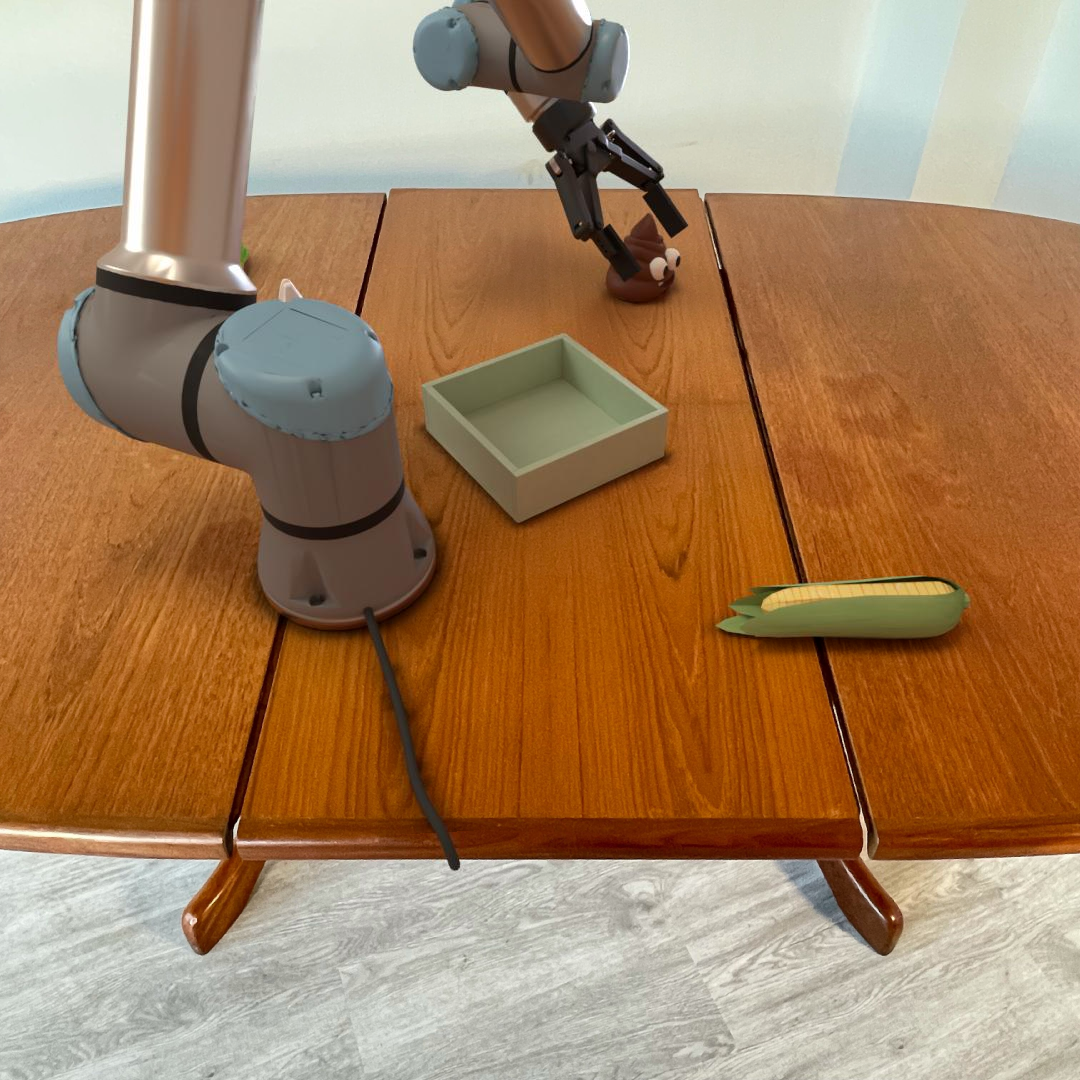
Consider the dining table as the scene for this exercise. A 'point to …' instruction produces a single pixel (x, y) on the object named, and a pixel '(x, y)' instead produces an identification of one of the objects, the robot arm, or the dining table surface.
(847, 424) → the dining table surface
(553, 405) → the tub
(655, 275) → the poop emoji
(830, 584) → the edible corn
